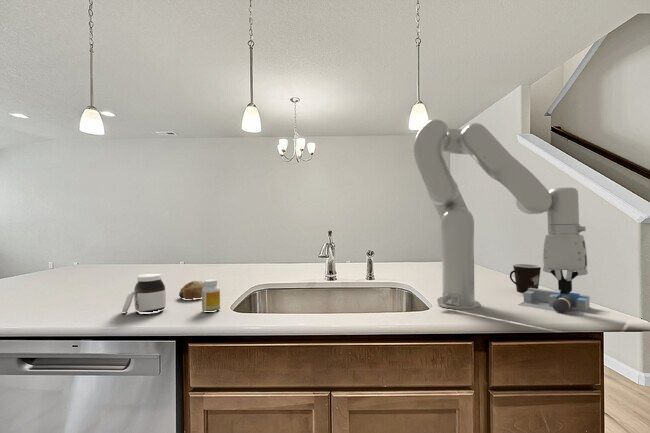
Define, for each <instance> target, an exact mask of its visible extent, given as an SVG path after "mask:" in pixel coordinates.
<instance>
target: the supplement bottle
mask: <svg viewBox="0 0 650 433" xmlns="http://www.w3.org/2000/svg"><path fill="white" fill-rule="evenodd" d="M203 283H204V285H205V287H204V288H203V289H202V300H201V308H202V309H201V310H203V311H215V310H219V309H220V310H221V289H220V286H218V279H216V278H215V279H214V278H213V279H212V278H211V279H206V280H205V279H204V280H203ZM220 310H219V311H220ZM203 311H202V312H203Z"/></svg>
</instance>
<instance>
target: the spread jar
mask: <svg viewBox="0 0 650 433" xmlns="http://www.w3.org/2000/svg"><path fill="white" fill-rule="evenodd" d="M162 276H163V274H162V273H145V274H139V275H137V279H136V280H137V282H136V284H135V286H134V291H129V292H128V294H127V296H126V299H125V301H124V305H123V307H122V311H121V313H122V312H127V311H129V310H128V309H130V307H131V304H132V302H133V300H134V308H135V311H136V310H137V311H139V312H153V311H158V310H162V309H164V308H166V304H167V303H166V302H167V300H166V299H167V298H166V296H167V294H166V286H165V283H164V282H163V280H162V278H163V277H162ZM133 298H134V299H133ZM164 310H165V309H164ZM127 313H128V312H127Z"/></svg>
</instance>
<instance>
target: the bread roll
mask: <svg viewBox="0 0 650 433" xmlns="http://www.w3.org/2000/svg"><path fill="white" fill-rule="evenodd" d="M204 287H205V285H204V281H202V280H201V281H199V280H192V281H190V282H187V283H186V284H184V285H183V287H181V288H180V291H179V292H178V297H179V296H180V297H181V298H185V299H193V298H201V297H202V289H203V288H204ZM180 297H179V298H180ZM181 298H180V299H181Z"/></svg>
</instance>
